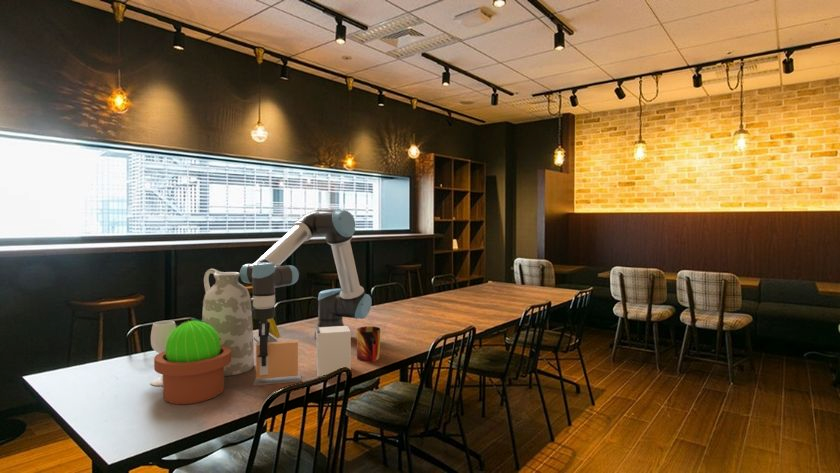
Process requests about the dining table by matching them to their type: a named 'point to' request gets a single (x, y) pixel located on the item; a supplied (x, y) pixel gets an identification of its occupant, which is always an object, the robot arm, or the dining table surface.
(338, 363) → the white tall block
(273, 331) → the toy computer monitor
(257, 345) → the peach cardboard box
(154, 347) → the wineglass
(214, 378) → the potted cactus
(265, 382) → the pad
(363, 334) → the mug
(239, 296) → the vase
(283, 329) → the dining table surface
